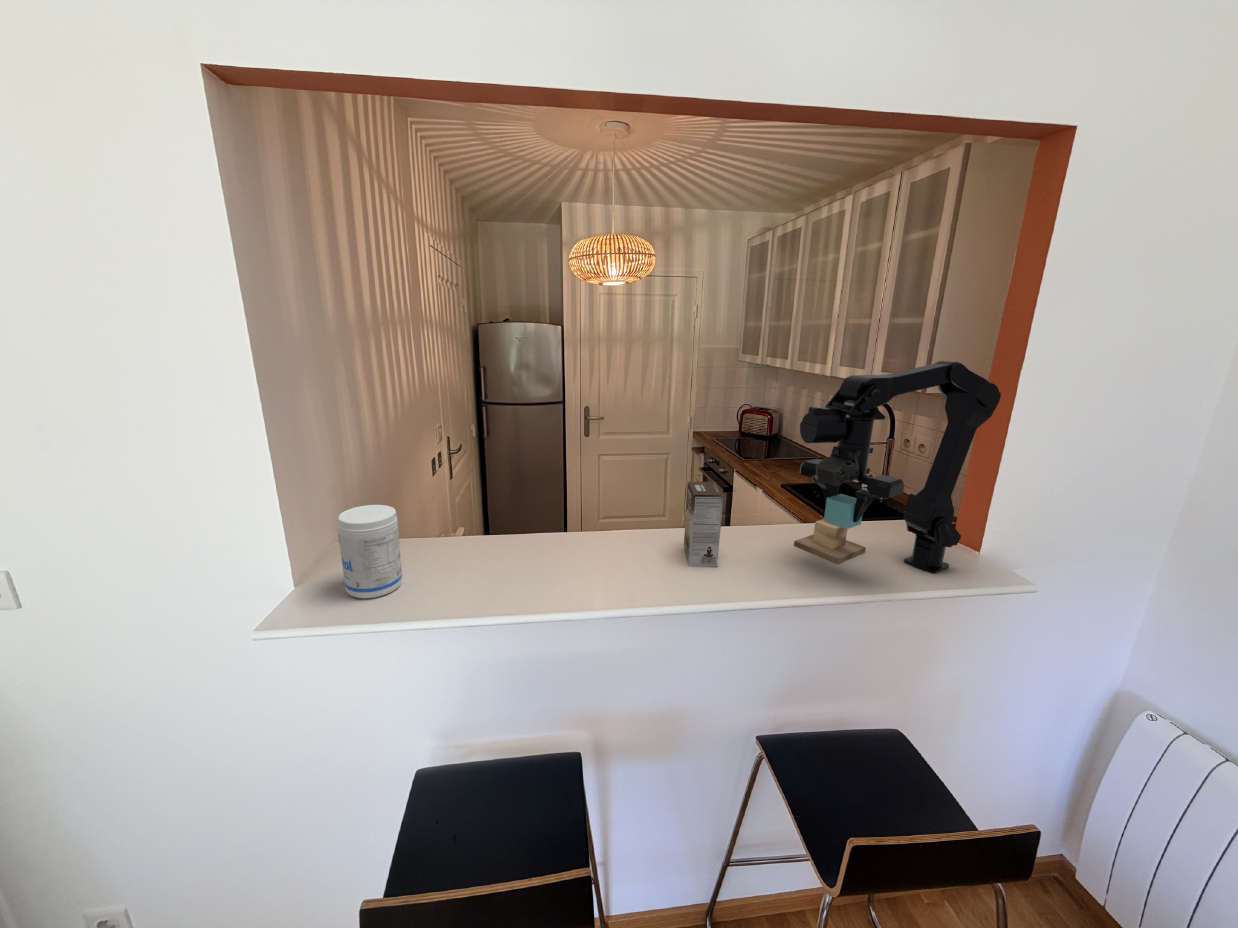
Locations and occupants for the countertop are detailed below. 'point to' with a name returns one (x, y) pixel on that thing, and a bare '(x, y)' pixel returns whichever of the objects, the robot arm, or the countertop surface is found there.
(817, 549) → the walnut board
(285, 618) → the countertop surface
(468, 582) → the countertop surface
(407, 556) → the countertop surface
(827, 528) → the oak block
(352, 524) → the supplement tub
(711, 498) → the coffee box
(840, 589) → the countertop surface
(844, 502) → the teal block
